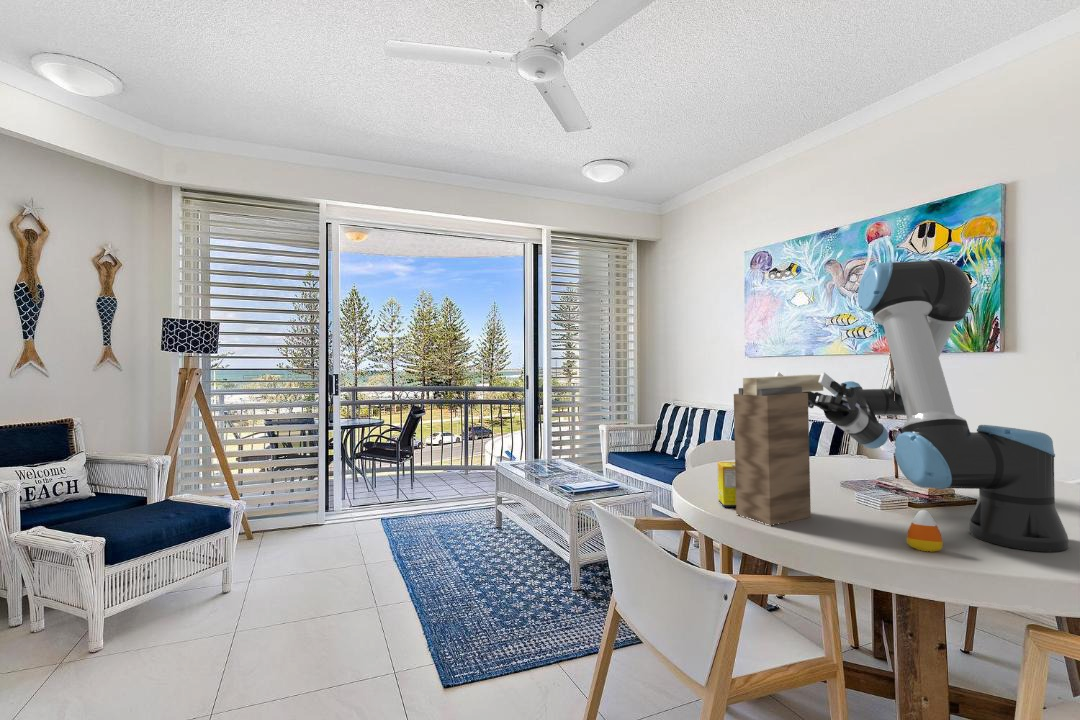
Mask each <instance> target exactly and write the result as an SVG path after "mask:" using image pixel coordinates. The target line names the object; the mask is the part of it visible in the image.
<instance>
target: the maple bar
mask: <svg viewBox="0 0 1080 720" xmlns="http://www.w3.org/2000/svg"><path fill="white" fill-rule="evenodd" d="M820 376H821V374H800V375H799V374H798V375H795V374H794V375H783V376H775V375H774V376H761V377H760V376H756V377H742V388H743V395H758V389H768V388H783V387H802V392H821V391H824V386H822V385H821V384H820V383H818V381H819V378H820Z"/></svg>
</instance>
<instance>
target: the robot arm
mask: <svg viewBox="0 0 1080 720" xmlns="http://www.w3.org/2000/svg"><path fill="white" fill-rule="evenodd" d="M857 290H858V291H857V300H858V301H857V302H858V306H859V307H860V309H862V310H863V311H865V312H867V313H869V312H871V313H872V318H873V321H874V322H875V323H876V324H879V325H881V326H883V329H884V334H885V337H886V341H887V342H886V343H887V345H888V349H889V353H890V356H891V361H892V366H893V369H894V375H893V377H894V387H895V401H894V387H893V378H892V379H891V382H890V383H889V384H890V385H889V386H888V388H871V389H870V388H869V389H867V388H864V389H863V386H861V384H860V383H859V382H856V381H852V380H851V381H848V380H847V381H845V382H841V383H839V382H838V381H836V380H835V379H833V378H832V377H830V375H828V374H827V373H826V372H822V371H821V373H820V375H821V376H820V378H819V381H818V383H820V384H821V385H822V386H823V388H825V389H826V390H827V391H828V392H829V393H831V395H830V394H829V395H828V394H824V393H821V392H819V391H811V392H802V393H808V409H814V406H815V407H817V408H819V409H821V410H822V411H823V413H824V416H825V418H826V419H827V420H829V422H831V423H832V424H834V425H836V426H837V427H838V428H839V429H840V430H842V431H843V432H844V433H845V434H847V435H849V436H850V437H851V438H852V439H853V440H854V441H856V442H857V443H858V444H860V445H862V447H863V446H864V447H865V448H867V449H870V450H871V449H872V450H873V449H874V450H875V449H878V448H881V447H882V446H884V445H886V443H887V441H888V439H889V432H888V430H887V428H886V427H885V426H884V424H882V423H881V422H879V420H878V418H877V416H906V419H907V420H906V422H905V423H904V424H903V425H902V426H901V433H900V434H898V436H897V437H896V438H895V441H894V446H895V447H894V456H895V457H894V458H895V460H896V463H897V465H898V468H899V470H900V471H901V473H902V474H903V476H904V477H905V478H906V479H907V480H908V481H909V482H910V483H911V484H913V485H915V486H917V487H920V488H924V489H935V490H941V491H942V490H945V489H971V490H972V489H973V490H978V489H979V490H978V491H979V497H978V500H977V503H976V505H975V507H974V510H973V513H972V515H971V517H970V519H969V533H970V535H971V536H974V537H975V538H977V539H979V540H981V541H983V542H986V543H990V544H994V545H998V546H1001V547H1002V546H1003V547H1007V548H1012V549H1016V550H1017V549H1018V550H1025V551H1032V552H1033V551H1034V552H1044V553H1045V552H1047V553H1048V552H1062V551H1065V550H1067V549H1069V536H1068V533H1067V530H1066V529H1065V527H1064V523H1063V521H1062V519H1061V518H1060V515H1059V513H1058V511H1057V508H1056V499H1055V496H1056V495H1055V494H1056V493H1055V489H1056V488H1055V458H1056V454H1055V450H1054V443H1053V442H1054V441H1053V438H1052V437H1051V436H1050V435H1049V434H1047V433H1045V432H1041V431H1040V432H1039V431H1037V430H1031V429H1021V428H1015V427H1008V426H1000V425H999V426H998V425H991V424H980V425H977V426H978V427H977V428H976V432H972V431H971V430H970V428H969V424H968V422H967V420H966V419H965V418H963V417H962V416H959V415H957V414H956V412H955V408H954V405H953V402H952V398H951V395H950V391H949V387H948V385H947V381H946V378H945V374H944V371H943V368H942V364H941V360H940V358H939V357H940V356H941V354H942V351H943V350H944V347H945V346H946V345H947V342H948V340H949V338H950V335H951V333H952V332H953V329H954V327H955V326H956V323H957V322H960V321H963V320H964V319H965V316H966V314H967V313H968V310H969V308H970V306H971V303H972V302H971V301H972V286H971V283H970V281H969V278H968V276H967V275H966V273H965V271H964V270H962V269H961V268H960V267H959V266H957V265H956V264H955V263H952V262H949V261H946V260H941V259H930V260H916V261H915V260H914V261H913V260H912V261H897V262H896V261H894V262H893V261H887V262H876V263H873V264H871V265H869V266H868V267H867V268H866V270H865V271H864V272H863V274H862V277H861V278H860V281H859V286H858V289H857ZM774 376H784V374H783V373H781V372H780V371H776V372H775V374H774Z"/></svg>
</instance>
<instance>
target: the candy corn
mask: <svg viewBox="0 0 1080 720" xmlns="http://www.w3.org/2000/svg"><path fill="white" fill-rule="evenodd" d="M906 543H907V545H908V546H909V547H911V548H913V549H916V550H917V551H920V550H921V552H926V551H927V552H928V551H930V552H929V553H935V552H938V551H940V550H941V549H942V548H943V547H944V544H943V543H944V541H943V537H942V534H941V531H940V529H939V527H938V525H937V522H936V521H935V519H934V518H933V516H932V515H931V513H930V512H929V511H927V510H926V509H920V510H919V511H917V513H916V515H915V516H914V517H913V519H912V522H911V523H910V525H909V527H908V530H907V534H906ZM927 552H926V553H927Z"/></svg>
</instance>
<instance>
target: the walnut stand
mask: <svg viewBox="0 0 1080 720" xmlns="http://www.w3.org/2000/svg"><path fill="white" fill-rule="evenodd" d="M733 420H734V428H733V429H734V431H733V432H734V462H735V475H736V508H735V512H736V514H738V515H741V516H744V517H748V518H751V519H754V520H757V521H760V522H763V523H766V524H769V525H773V524H778V523H783V524H785V523H784V522H787V523H790V522H789V521H791V522H794V521H795V522H796V521H799V520H800V521H801V520H802V519H807V518H811V517H812V513H811V475H810V474H811V471H810V469H811V468H810V462H811V461H810V428H809V427H810V426H809V425H810V424H809V423H810V422H809V407H808V393H802V387H783V388H768V389H758V395H743V387H739V388H738V393H733ZM736 514H735V515H736ZM778 525H779V524H778Z"/></svg>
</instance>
